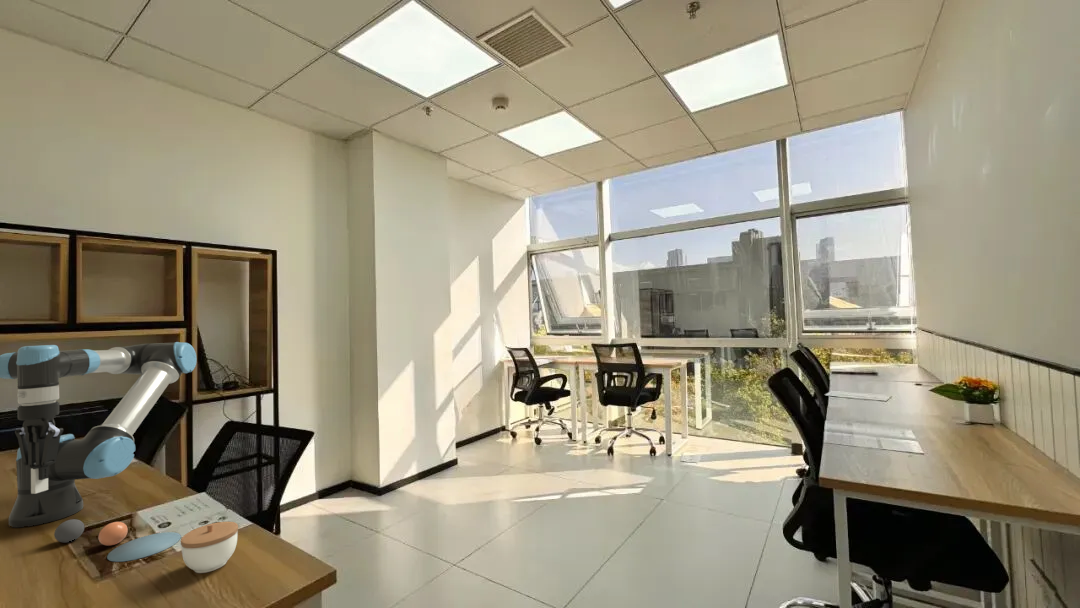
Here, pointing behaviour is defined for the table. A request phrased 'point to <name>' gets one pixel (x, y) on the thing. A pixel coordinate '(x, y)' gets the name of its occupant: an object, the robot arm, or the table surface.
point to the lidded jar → (209, 546)
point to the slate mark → (144, 546)
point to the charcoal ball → (69, 530)
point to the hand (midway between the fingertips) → (39, 491)
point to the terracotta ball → (113, 533)
